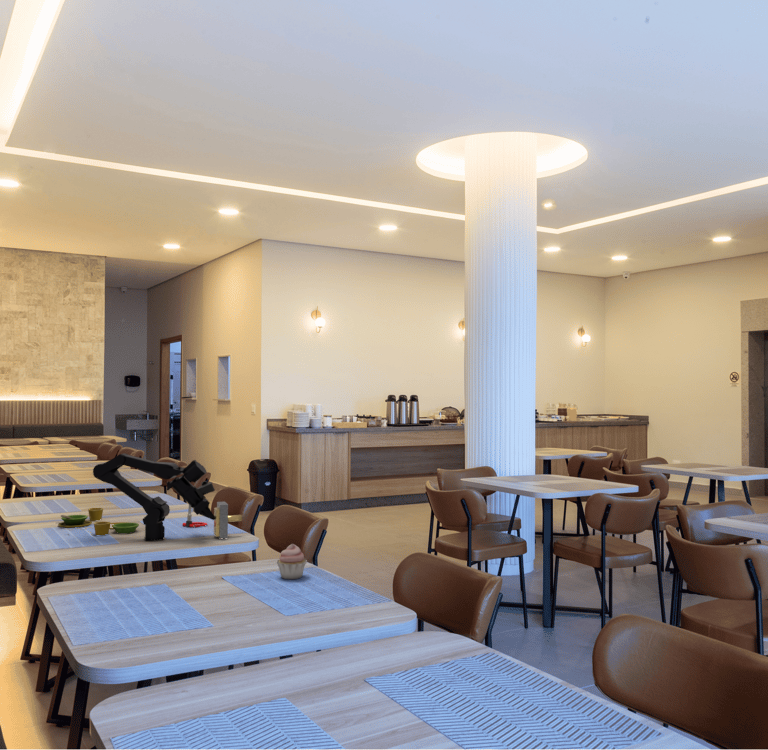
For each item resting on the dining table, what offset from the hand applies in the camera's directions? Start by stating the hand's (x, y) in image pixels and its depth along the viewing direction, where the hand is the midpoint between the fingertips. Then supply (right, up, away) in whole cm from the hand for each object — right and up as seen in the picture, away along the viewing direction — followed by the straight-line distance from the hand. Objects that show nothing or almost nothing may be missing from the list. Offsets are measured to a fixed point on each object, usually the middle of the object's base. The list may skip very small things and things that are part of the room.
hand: (214, 519), depth 271 cm
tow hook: (-14, -8, +25) cm, 29 cm away
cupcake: (+37, -6, -58) cm, 69 cm away
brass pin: (+5, -6, +2) cm, 8 cm away
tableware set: (-52, -8, +19) cm, 56 cm away
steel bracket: (+3, -7, +1) cm, 8 cm away
